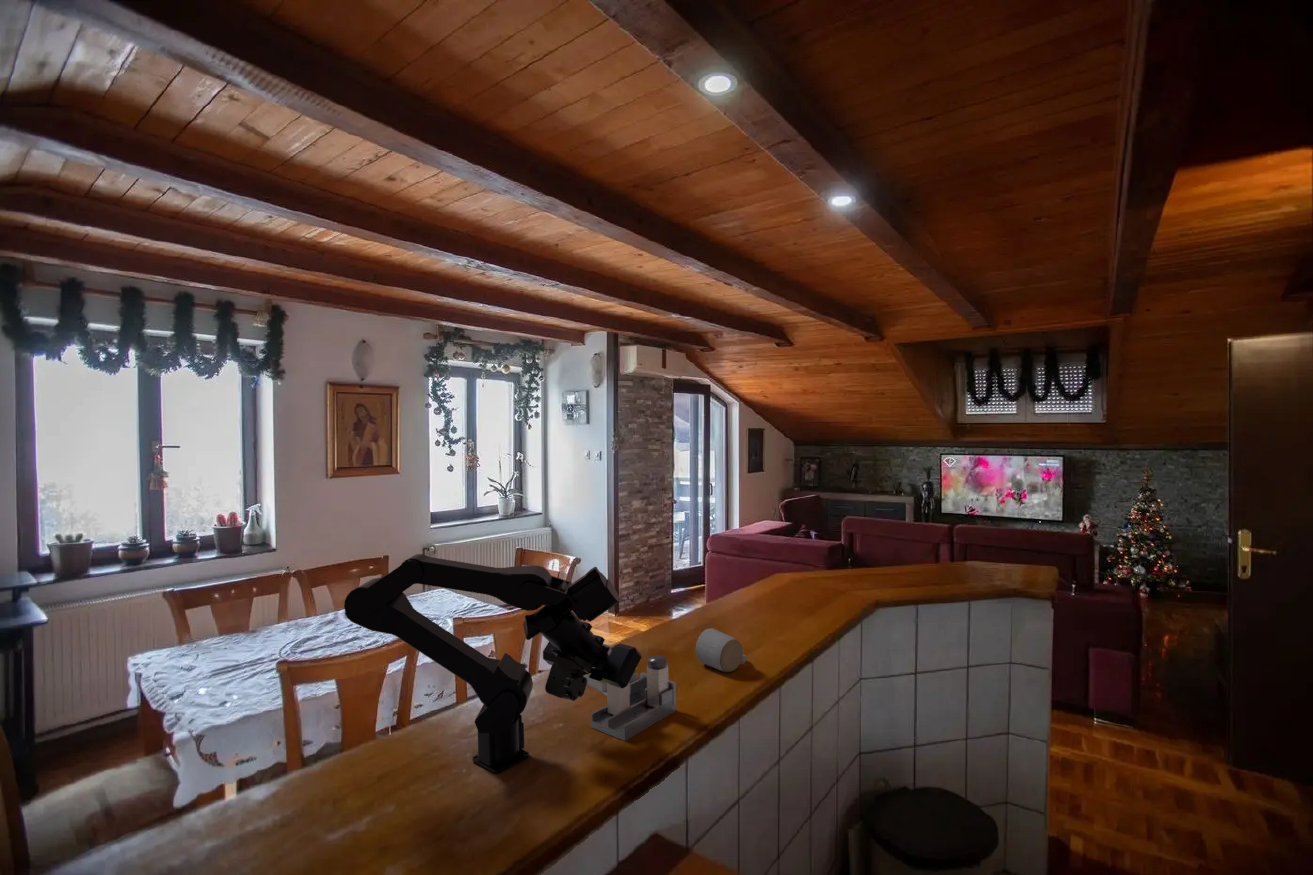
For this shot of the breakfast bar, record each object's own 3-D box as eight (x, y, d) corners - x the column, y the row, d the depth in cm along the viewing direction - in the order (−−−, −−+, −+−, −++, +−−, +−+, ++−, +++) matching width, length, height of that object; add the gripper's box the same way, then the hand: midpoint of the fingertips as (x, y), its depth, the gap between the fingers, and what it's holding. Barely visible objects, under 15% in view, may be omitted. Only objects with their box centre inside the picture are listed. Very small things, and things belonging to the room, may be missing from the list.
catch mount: (625, 741, 102) (623, 681, 102) (591, 727, 107) (589, 670, 107) (676, 710, 113) (674, 656, 113) (643, 699, 118) (641, 647, 118)
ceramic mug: (722, 678, 127) (721, 640, 127) (694, 667, 134) (694, 631, 134) (756, 665, 134) (755, 630, 134) (728, 655, 140) (728, 622, 140)
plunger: (619, 717, 107) (618, 669, 107) (605, 712, 109) (604, 665, 109) (632, 710, 110) (631, 663, 110) (618, 705, 112) (617, 659, 112)
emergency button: (604, 646, 137) (646, 664, 125) (605, 666, 137) (647, 686, 125) (568, 656, 131) (609, 677, 119) (569, 677, 131) (609, 699, 119)
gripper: (502, 665, 101) (554, 710, 109) (581, 693, 89) (632, 741, 97) (539, 607, 107) (586, 653, 115) (618, 626, 95) (663, 676, 103)
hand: (614, 680), depth 108 cm, fingers closed
